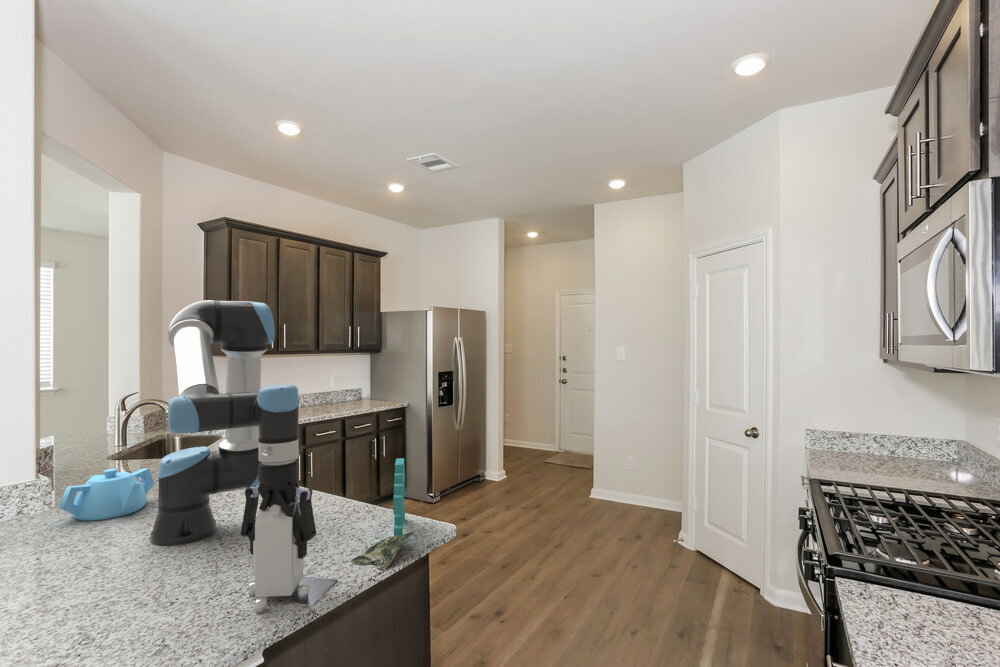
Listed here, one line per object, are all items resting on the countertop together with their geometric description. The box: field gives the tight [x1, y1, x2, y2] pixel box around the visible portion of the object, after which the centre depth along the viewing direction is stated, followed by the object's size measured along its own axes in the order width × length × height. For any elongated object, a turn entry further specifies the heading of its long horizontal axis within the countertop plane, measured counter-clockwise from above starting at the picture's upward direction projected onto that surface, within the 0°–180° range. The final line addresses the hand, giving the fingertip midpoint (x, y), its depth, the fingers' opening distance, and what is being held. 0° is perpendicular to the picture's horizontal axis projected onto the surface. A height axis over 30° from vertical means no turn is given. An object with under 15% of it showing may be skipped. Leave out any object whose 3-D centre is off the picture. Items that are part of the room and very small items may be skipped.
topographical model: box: [350, 532, 415, 572], centre depth 118 cm, size 16×15×2 cm
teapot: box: [58, 467, 156, 521], centre depth 148 cm, size 19×19×14 cm
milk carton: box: [254, 495, 304, 598], centre depth 99 cm, size 7×7×19 cm
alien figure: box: [392, 457, 406, 536], centre depth 134 cm, size 20×2×20 cm, turn 9°
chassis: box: [247, 575, 339, 615], centre depth 98 cm, size 17×17×4 cm
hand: (278, 571), depth 98 cm, fingers closed on milk carton, 8 cm apart
